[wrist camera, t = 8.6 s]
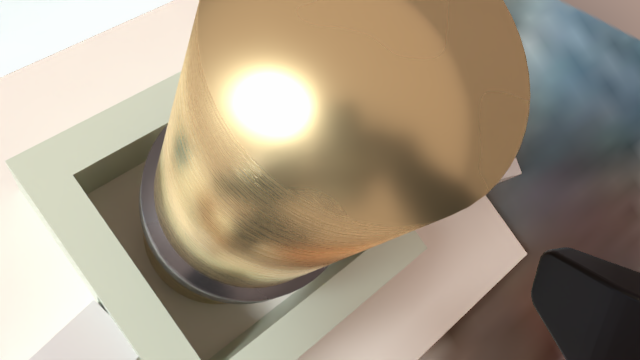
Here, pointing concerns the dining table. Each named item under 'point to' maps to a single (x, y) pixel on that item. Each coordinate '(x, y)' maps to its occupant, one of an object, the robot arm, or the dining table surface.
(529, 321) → the dining table surface
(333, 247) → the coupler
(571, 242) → the dining table surface
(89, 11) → the dining table surface
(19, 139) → the shaft mount
